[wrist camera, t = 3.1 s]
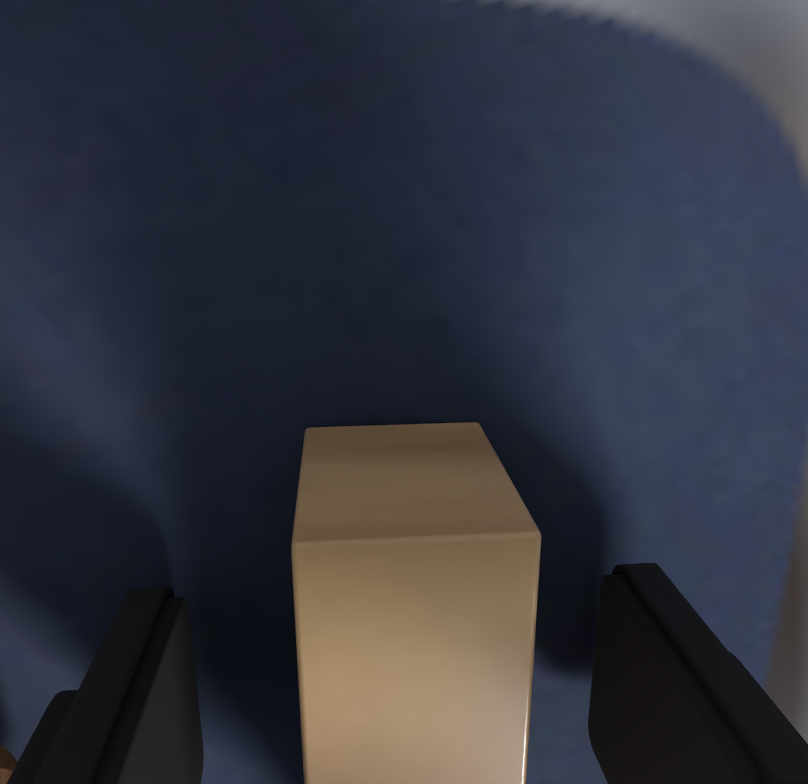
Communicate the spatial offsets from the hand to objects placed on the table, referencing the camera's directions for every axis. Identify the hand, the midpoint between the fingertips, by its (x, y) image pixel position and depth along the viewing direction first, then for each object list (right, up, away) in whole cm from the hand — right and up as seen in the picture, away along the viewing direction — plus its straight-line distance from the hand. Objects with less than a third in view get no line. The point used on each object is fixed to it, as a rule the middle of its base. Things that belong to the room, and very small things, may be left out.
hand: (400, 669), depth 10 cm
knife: (0, -4, +2) cm, 4 cm away
